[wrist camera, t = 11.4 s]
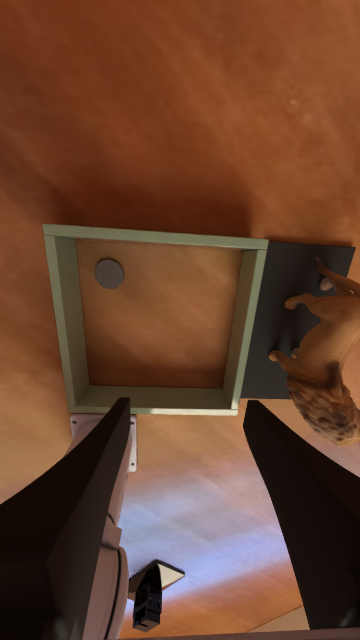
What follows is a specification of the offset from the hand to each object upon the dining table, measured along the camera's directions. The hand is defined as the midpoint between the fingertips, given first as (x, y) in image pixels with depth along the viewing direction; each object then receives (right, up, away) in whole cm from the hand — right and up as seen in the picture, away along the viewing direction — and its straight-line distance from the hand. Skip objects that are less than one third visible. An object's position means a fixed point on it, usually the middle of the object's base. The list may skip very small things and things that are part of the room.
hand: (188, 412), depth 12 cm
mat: (+12, +5, +10) cm, 16 cm away
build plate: (-6, -43, +24) cm, 50 cm away
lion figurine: (+12, +4, +10) cm, 16 cm away
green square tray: (-3, +5, +9) cm, 11 cm away
